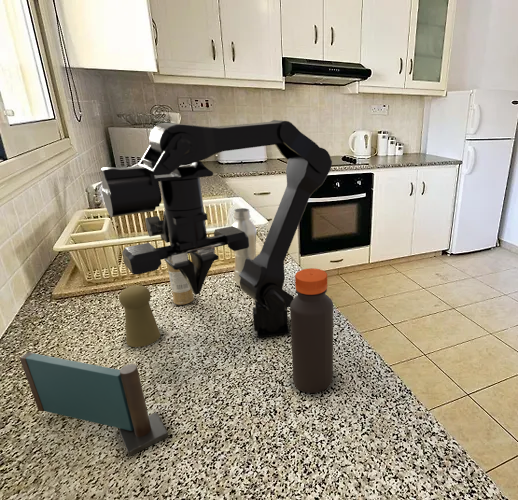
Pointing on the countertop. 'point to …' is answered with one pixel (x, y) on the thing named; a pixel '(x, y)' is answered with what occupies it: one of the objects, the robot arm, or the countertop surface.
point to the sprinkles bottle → (179, 287)
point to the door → (77, 390)
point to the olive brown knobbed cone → (139, 316)
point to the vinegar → (312, 332)
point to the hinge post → (139, 415)
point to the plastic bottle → (249, 228)
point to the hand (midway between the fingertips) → (196, 293)
